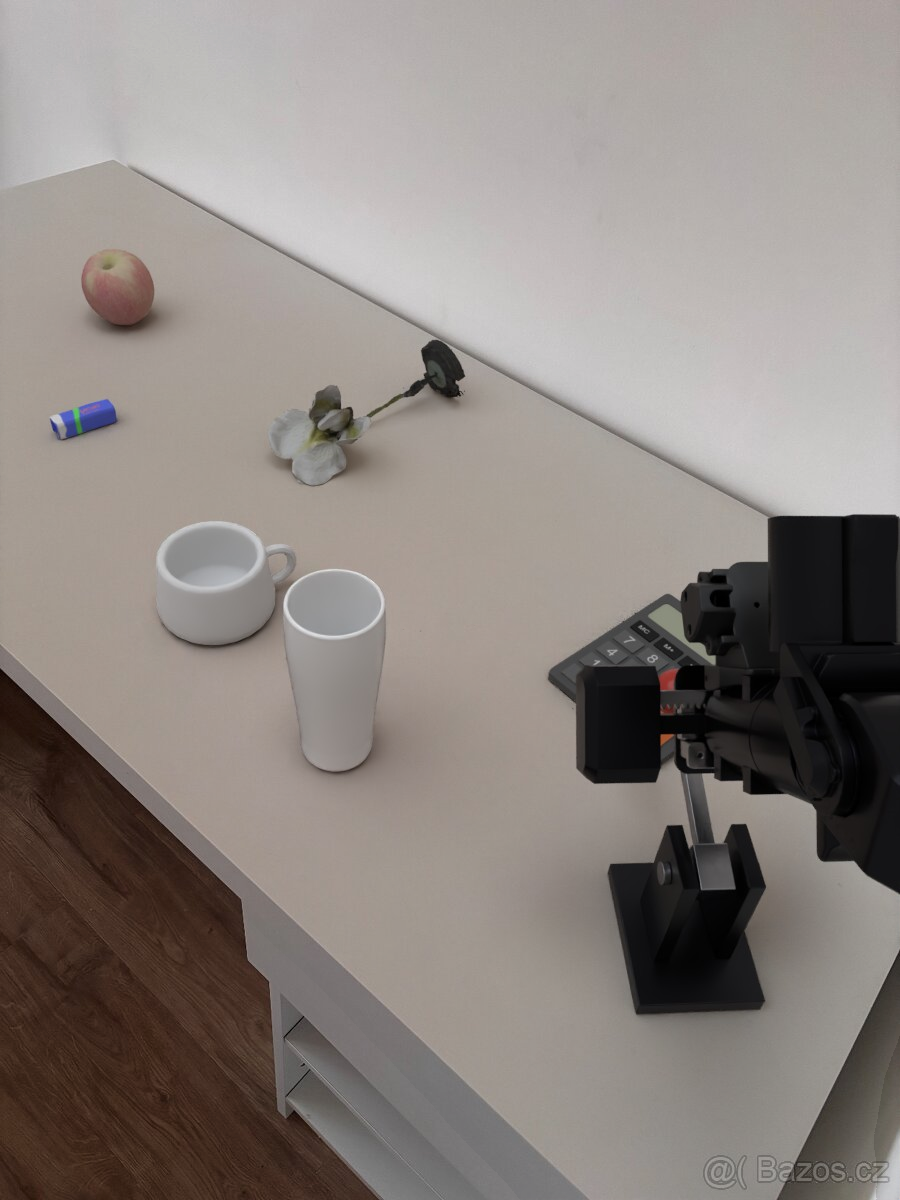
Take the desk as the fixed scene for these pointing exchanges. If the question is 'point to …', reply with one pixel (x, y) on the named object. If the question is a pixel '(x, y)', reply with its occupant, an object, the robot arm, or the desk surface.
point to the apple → (118, 286)
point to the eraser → (83, 419)
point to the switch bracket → (688, 929)
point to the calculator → (638, 650)
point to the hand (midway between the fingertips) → (698, 707)
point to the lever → (703, 830)
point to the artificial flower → (348, 420)
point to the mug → (217, 582)
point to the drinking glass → (335, 663)
